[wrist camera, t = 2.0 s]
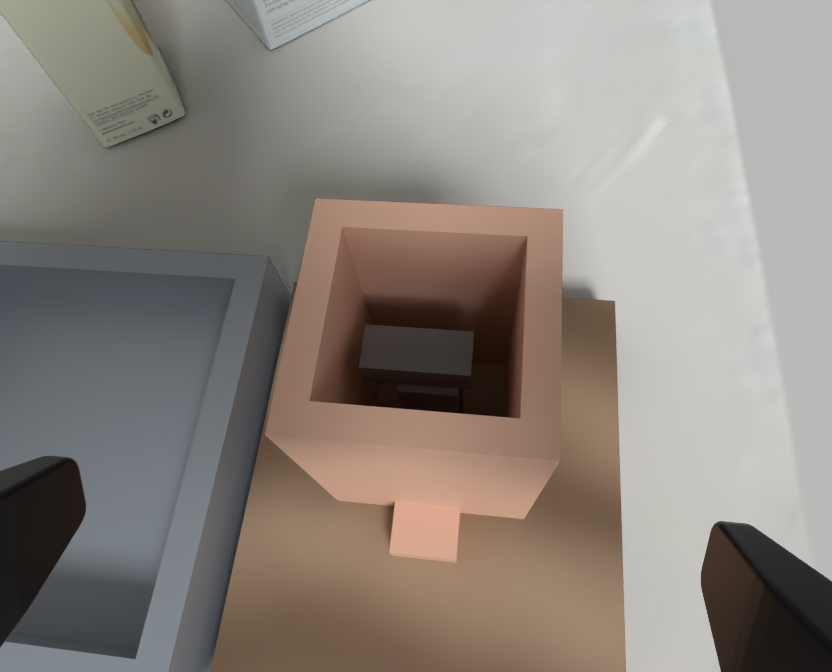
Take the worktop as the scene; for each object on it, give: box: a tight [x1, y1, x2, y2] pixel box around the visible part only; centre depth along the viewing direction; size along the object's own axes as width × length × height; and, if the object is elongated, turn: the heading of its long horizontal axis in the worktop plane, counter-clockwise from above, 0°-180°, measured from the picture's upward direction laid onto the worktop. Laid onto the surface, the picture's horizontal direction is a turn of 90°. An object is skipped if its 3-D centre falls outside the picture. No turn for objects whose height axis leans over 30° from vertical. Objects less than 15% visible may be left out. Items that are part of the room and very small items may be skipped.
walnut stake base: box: [210, 282, 626, 672], centre depth 18 cm, size 14×12×8 cm
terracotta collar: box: [265, 198, 563, 563], centre depth 17 cm, size 8×6×8 cm
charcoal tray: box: [0, 241, 291, 672], centre depth 21 cm, size 14×13×3 cm
